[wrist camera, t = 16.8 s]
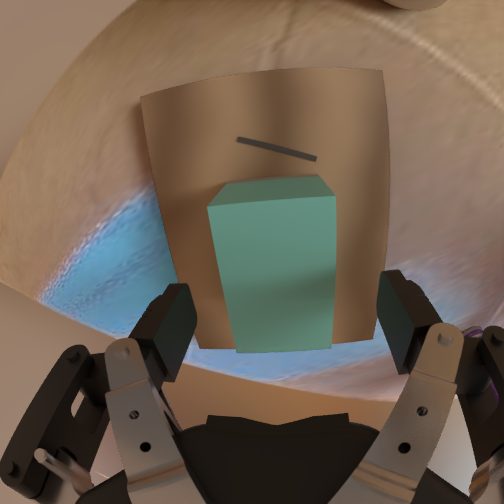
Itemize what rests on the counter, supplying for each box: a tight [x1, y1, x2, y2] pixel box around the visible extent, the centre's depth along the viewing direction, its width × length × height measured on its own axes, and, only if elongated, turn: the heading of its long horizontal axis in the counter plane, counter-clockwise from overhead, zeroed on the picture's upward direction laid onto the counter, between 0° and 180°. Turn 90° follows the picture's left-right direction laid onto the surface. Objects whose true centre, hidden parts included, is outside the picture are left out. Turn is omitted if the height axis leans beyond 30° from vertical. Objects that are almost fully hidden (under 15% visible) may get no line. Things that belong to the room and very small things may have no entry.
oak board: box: [140, 68, 390, 349], centre depth 17 cm, size 14×19×2 cm
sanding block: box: [207, 174, 337, 353], centre depth 14 cm, size 5×8×5 cm, turn 7°
